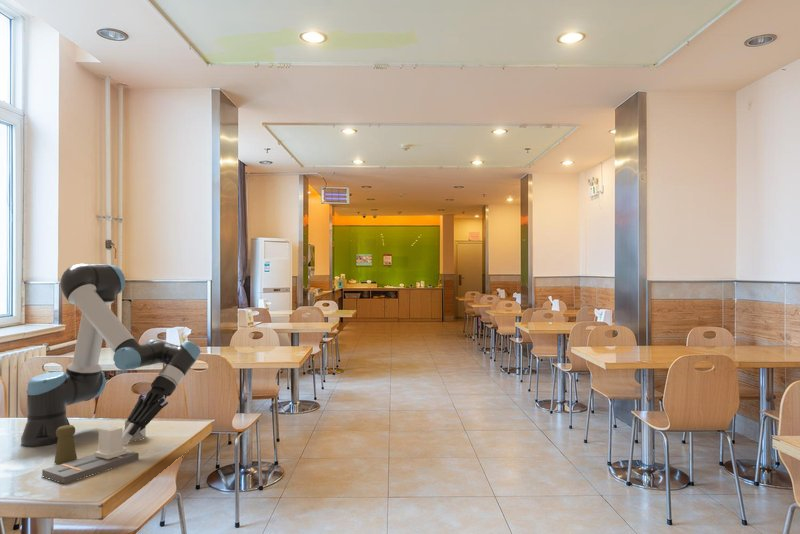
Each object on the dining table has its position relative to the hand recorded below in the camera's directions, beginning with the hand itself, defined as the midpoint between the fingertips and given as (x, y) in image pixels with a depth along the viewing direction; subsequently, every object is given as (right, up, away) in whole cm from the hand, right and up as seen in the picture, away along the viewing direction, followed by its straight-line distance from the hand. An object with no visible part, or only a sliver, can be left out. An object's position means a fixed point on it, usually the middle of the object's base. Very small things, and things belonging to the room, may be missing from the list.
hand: (121, 443), depth 164 cm
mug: (-7, -6, +23) cm, 25 cm away
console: (-5, -5, -8) cm, 10 cm away
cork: (-17, -5, -1) cm, 18 cm away
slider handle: (-2, -3, -3) cm, 4 cm away
